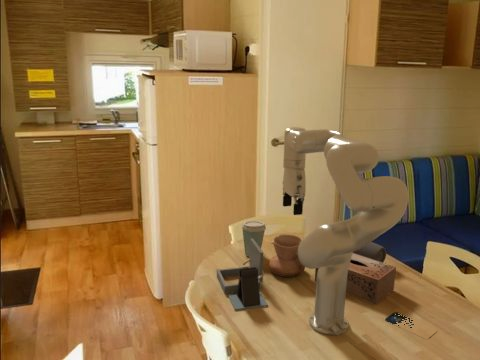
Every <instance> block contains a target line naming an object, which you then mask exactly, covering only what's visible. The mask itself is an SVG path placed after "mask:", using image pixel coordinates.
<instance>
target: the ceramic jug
mask: <svg viewBox="0 0 480 360" xmlns="http://www.w3.org/2000/svg"><path fill="white" fill-rule="evenodd" d="M303 239H304V238H302V237H300V236H298V235H296V234H295V235H294V234H287V233H285V234H279V235H275V236H274V237H273V239H272V241H271V242H270V244H271V245H273V247H274V250H275V253H276V255H275V256H273V257H271V259H270V261H269V263H268V266H269V269H270V271H272V272H273V273H274V274H276V275H277V276H280V277H286V278H288V277H297V276H299V275H301V274H303V272H304V271H305V269H306V267H305V266H303V265H302V264H301V262H300V261H299V258H298V247H299V244H300V242H301V241H302V240H303Z"/></svg>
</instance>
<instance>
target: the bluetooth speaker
mask: <svg viewBox="0 0 480 360" xmlns="http://www.w3.org/2000/svg"><path fill="white" fill-rule="evenodd" d="M353 253H355V254H358V255H361V256H364V257H367V258H370V259H373V260H376V261H379V262H382V263H385V260H386V257H387V251H386V247H384V246H382V245H380V244H377V243H376V242H373V241H371V242H369V243H368V244H366V245H365V246H363V247H362V248H361V249H359V250H357V251H354V252H353Z"/></svg>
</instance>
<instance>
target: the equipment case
mask: <svg viewBox="0 0 480 360" xmlns="http://www.w3.org/2000/svg"><path fill="white" fill-rule="evenodd" d="M264 255H265V253H264V250H262V248H261V249H260V247H259V246H258V244H257V243H256V242H255V240H254V239H253V238H251V239H250V257H248V259H247V260H245V261H244V262H243V263H242V265H243V266H240V267H231V268H230V267H229V268H223V269H222V268H221V269H219V268H218V269H216V279H217V280H218V282H219V285H220V287H221V290H222V291H223V294H224V295H226V294H227V295H229V294H237V288H238V283H233V284H232V283H231V284H227V283H226V281H225V279H224V278H228V277H235V276H236V277H237V276H239V271H240V270H241V269H248V268H255V267H256V269H258V284H259V291H261V290H262V283H263V282H264ZM248 263H249V266H245V265H246V264H248Z"/></svg>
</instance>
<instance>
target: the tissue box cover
mask: <svg viewBox="0 0 480 360" xmlns="http://www.w3.org/2000/svg"><path fill="white" fill-rule="evenodd" d="M318 269H319V268H315V270H314V282H316V280H317V272H318ZM396 273H397V266H395V265H391V264H388V263H385V262H383V263H382V262H379V261H376V260H373V259H370V258H367V257H364V256H361V255H358V254H355V253H352V258H351V261H350V264H349V268H348V276H347V286H346V295H349V296H352V297H355V298H357V299H359V300H362V301H364V302H367V303H369V304H372V305H374V306H377V305H378V304H379V303H380V302H381V301H383V300H384V299H385V298H386V297H387V295H388V296H389V295H391V293H393V292H394V291H393V290H395V282H396V281H395V280H396Z"/></svg>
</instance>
